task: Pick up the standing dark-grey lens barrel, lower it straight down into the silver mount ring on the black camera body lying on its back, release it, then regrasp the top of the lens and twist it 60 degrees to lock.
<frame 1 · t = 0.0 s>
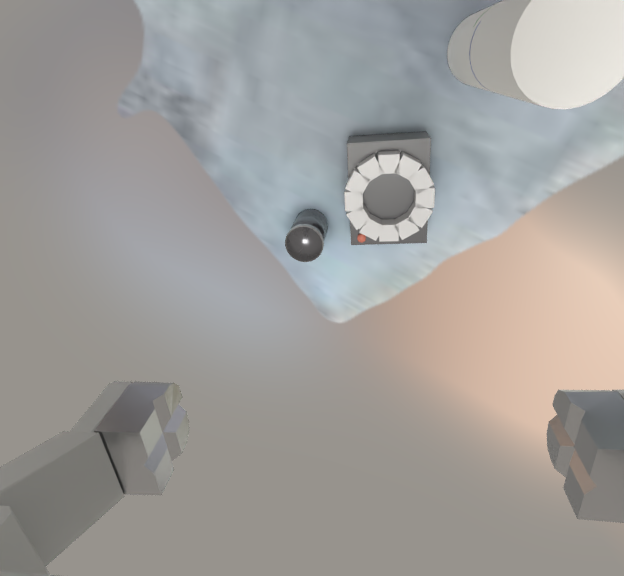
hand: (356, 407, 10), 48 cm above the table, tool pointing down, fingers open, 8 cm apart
cylindrical container: (481, 49, 47), on the table
lens: (311, 224, 59), on the table
camera body: (387, 184, 55), on the table
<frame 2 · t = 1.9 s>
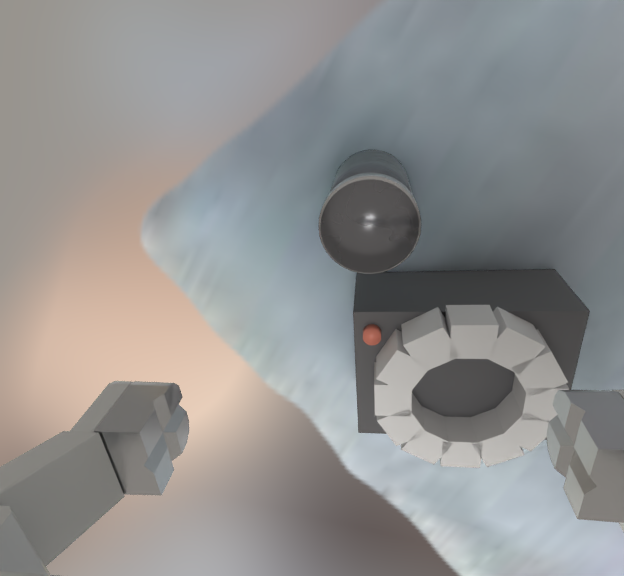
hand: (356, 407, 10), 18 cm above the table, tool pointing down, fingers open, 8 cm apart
lens: (370, 188, 26), on the table
camera body: (448, 331, 30), on the table
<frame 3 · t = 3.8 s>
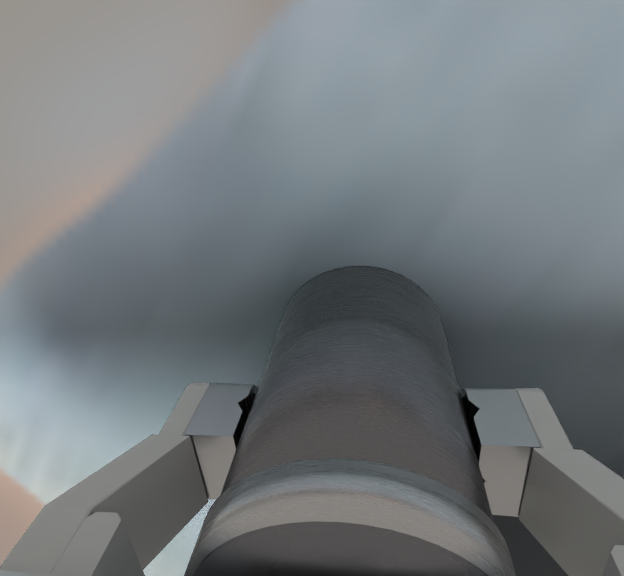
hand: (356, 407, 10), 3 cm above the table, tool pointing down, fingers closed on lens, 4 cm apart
lens: (360, 339, 12), on the table, touching gripper
camera body: (508, 572, 16), on the table
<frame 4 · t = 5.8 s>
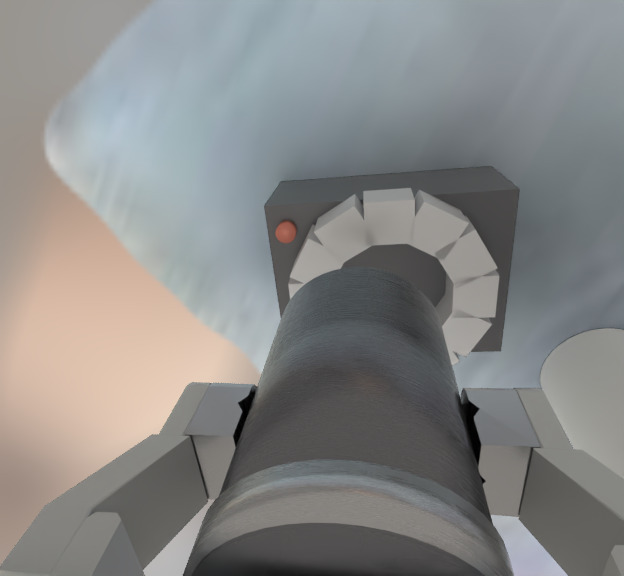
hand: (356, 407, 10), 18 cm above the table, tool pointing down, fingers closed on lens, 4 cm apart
cylindrical container: (594, 370, 30), on the table
lens: (359, 340, 12), point 16 cm above the table, touching gripper
camera body: (384, 246, 27), on the table
when the fingers open (9 cm above the table, at t = 7.9 s): lens stays where it is, resting on camera body.
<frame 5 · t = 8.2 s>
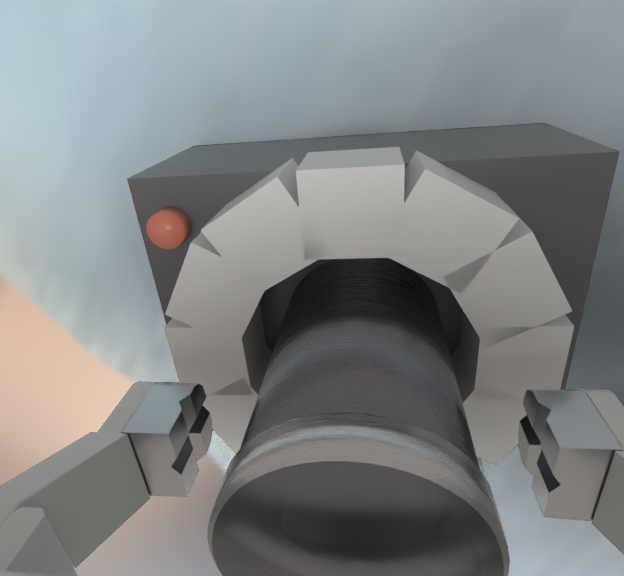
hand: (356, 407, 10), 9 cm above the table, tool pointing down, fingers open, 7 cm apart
lens: (361, 323, 13), point 5 cm above the table, touching camera body
camera body: (362, 254, 17), on the table
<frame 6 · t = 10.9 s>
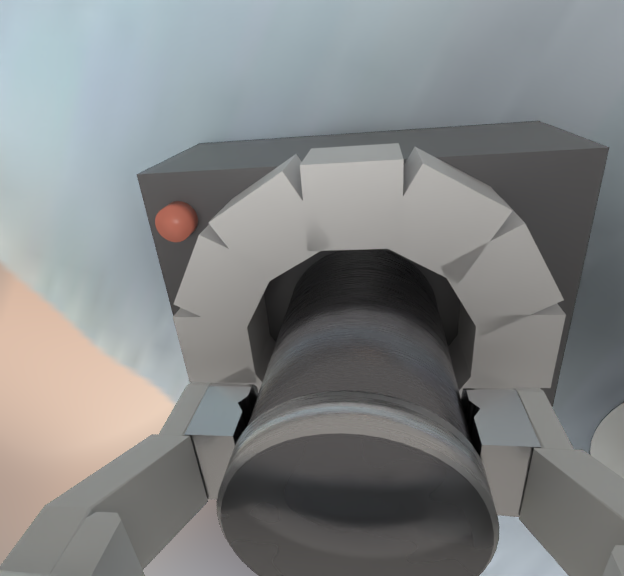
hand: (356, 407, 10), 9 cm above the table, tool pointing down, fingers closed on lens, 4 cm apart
lens: (362, 314, 13), point 5 cm above the table, touching camera body, gripper
camera body: (363, 249, 18), on the table
when the fingers open (9 cm above the table, at t = 12.1 s): lens stays where it is, resting on camera body.
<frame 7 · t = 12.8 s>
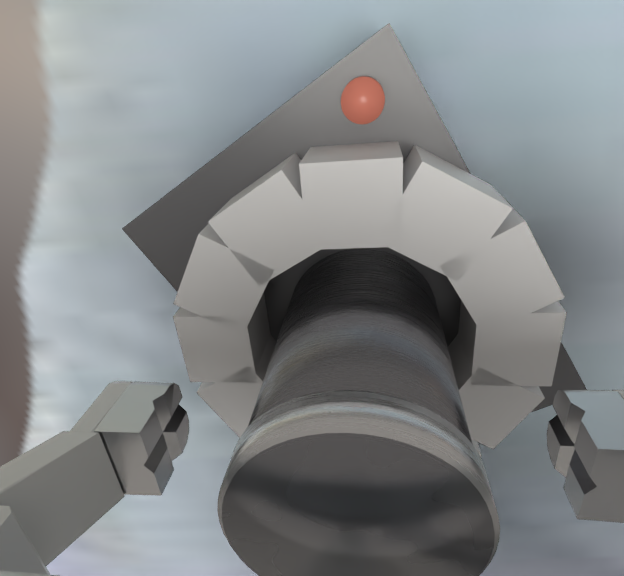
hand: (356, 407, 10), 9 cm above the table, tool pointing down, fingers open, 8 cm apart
lens: (361, 315, 13), point 5 cm above the table, touching camera body
camera body: (363, 248, 18), on the table
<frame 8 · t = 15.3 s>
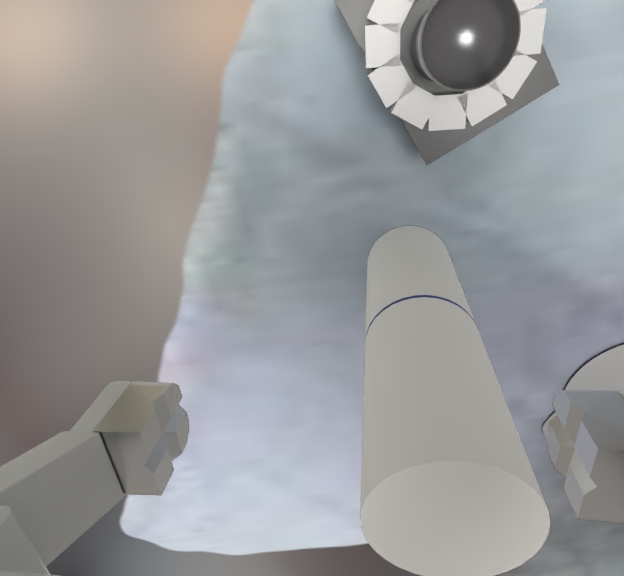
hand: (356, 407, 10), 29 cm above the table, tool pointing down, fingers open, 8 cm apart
cylindrical container: (407, 262, 39), on the table
lens: (447, 43, 27), point 5 cm above the table, touching camera body
camera body: (436, 43, 31), on the table
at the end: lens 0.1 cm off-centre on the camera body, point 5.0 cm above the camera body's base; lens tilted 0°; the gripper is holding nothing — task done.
